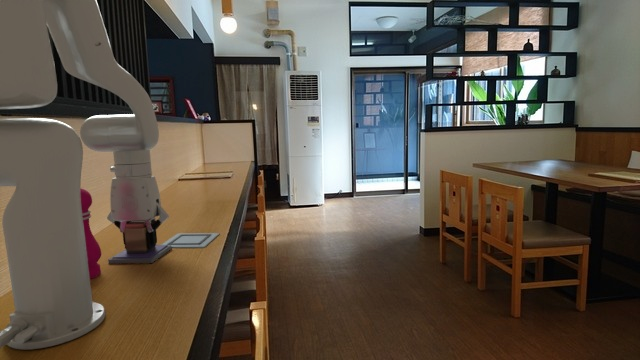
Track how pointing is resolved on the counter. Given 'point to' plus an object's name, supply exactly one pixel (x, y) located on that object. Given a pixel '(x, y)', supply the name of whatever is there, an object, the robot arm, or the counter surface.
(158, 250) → the ink pad
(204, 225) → the counter surface
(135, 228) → the stamp
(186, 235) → the light grey flat square
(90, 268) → the pepper mill
